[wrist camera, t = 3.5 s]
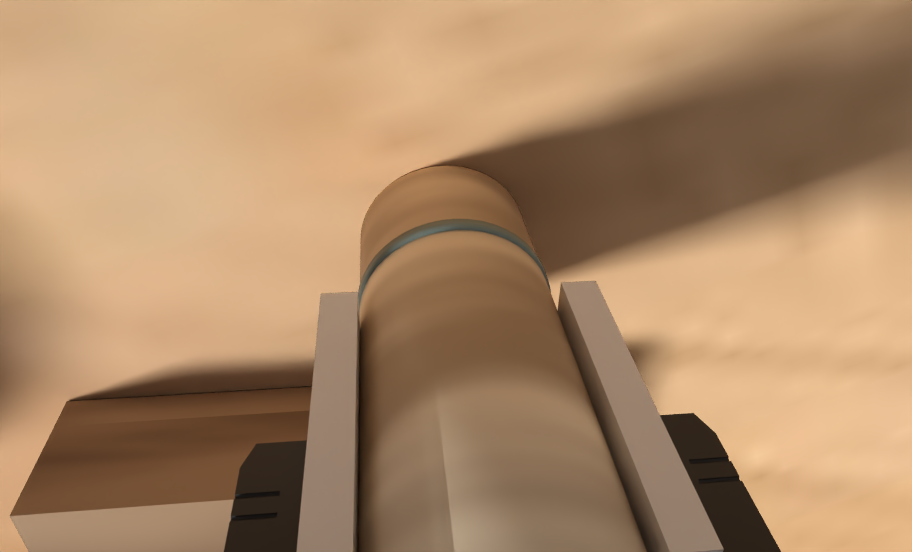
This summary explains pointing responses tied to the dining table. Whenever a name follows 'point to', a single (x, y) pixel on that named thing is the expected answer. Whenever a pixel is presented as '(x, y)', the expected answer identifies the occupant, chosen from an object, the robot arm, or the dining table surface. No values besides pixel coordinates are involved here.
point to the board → (150, 470)
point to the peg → (472, 385)
